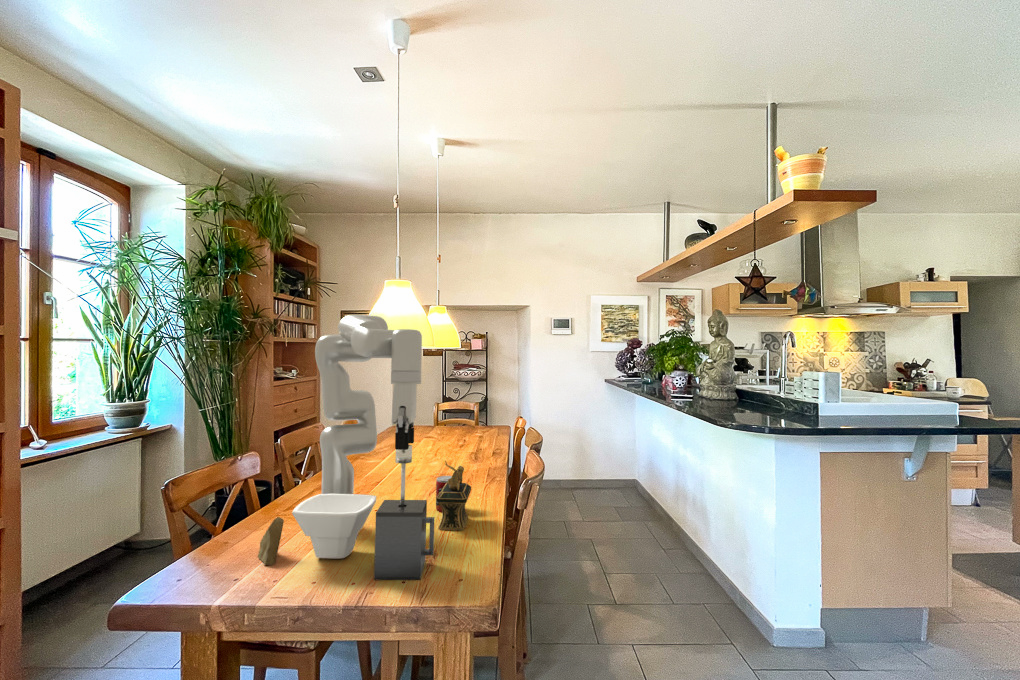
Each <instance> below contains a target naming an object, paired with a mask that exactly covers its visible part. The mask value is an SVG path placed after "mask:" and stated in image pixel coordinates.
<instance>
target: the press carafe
mask: <svg viewBox="0 0 1020 680" xmlns="http://www.w3.org/2000/svg"><path fill="white" fill-rule="evenodd" d="M427 504H428V501H427V499H405V507H400V506H401V499H384V500H383V502H382V503H381V504H380V506H379V508H378V509H377V510H376V512H375V531H374V572H373V581H421V578H422V577H423V576H422V575H423V571H424V568H425V564H426V556H434V554H435V553H434V552H435V550H434V549H435V546H434V545H435V516H427V507H428V505H427ZM427 524H429V537H428V538H429V541H428V542H429V543H428V544H429V545H428V547H429V548H426V546H427V544H426V543H427Z"/></svg>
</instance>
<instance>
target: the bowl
mask: <svg viewBox="0 0 1020 680" xmlns="http://www.w3.org/2000/svg"><path fill="white" fill-rule="evenodd" d="M376 502H377V496H376V495H373V494H360V493H359V494H357V493H353V494H321V493H319V494H316V495H313V496H311V497H309V498H307V499H305V500H304V501H303V500H302V501H301V502H300V503H299V504H297V505H296V506H295V507H294V509H293V510H292V512H291V514H292V516H293V517H294V519H295V521H296V522H297V524H298V526H299V528H300V529H301V530H302V531H303V533H304V535H305V536H307V537H310V541H311V543H312V547H313V552H314V555H315V558H318V559H319V558H320V559H344V558H346V557H348V556H350V554H351V553H352V552H353V550H354V548H355V544H356V542H357V537H358V535H359V532H360V531H361V530H362V528H363V527H364V525H365V524H366V521H367V519H368V518H369V516H370V515H371V512H372V510H373V508H374V506H375V504H376Z"/></svg>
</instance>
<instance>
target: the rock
mask: <svg viewBox="0 0 1020 680" xmlns="http://www.w3.org/2000/svg"><path fill="white" fill-rule="evenodd" d="M284 521H285V519H283V518H282V517H280V516H277V517H275V519H273V520H272V522H271V523H270V525H269V526H268V527H267V530H266V531H265V533H264V534H263V536H262V538H261V540H260V542H259V550H258V553H257V558H258V559H259V560H260V561H261V562H263V565H265V566H268V565H269V566H270V565H271V566H272V565H275V563H276V560H277V556H278V552H279V547H280V541H281V538H282V532H283V527H284Z"/></svg>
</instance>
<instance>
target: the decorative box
mask: <svg viewBox="0 0 1020 680" xmlns="http://www.w3.org/2000/svg"><path fill="white" fill-rule="evenodd" d="M444 462H445V463H444V465H445V466H446V467H448V468H449V469H450V470H453V471H454V472H453V473H452V475H451V476H452V477H451V478H450V479H448V481H447V482H448V483H446V484H445V485H444V486H443V488H442V489H441V491H440V492H439V494H438V496H437V498H436V497H435V503H436V502H437V503H438V504H439V505H440V506H441V508H442V512H441V513H442V517H441V521H440V523H439V525H438V528H437V529H438V530H440V531H441V530H442V531H464V530H465V529H466V525H467V523H468V519H469V515H468V513H467V510H466V503H467V502H468V500H469V496H470V494H471V491H472V486H471V485H470V484H469V483H467V482H463V479H464V477H463V474H464V472H465V471H464V470H465V467H464V466H462V465H459V466H458V467H457V469H455V467H453V466H451V465H449V464H448V462H447V461H446V460H444Z"/></svg>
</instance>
